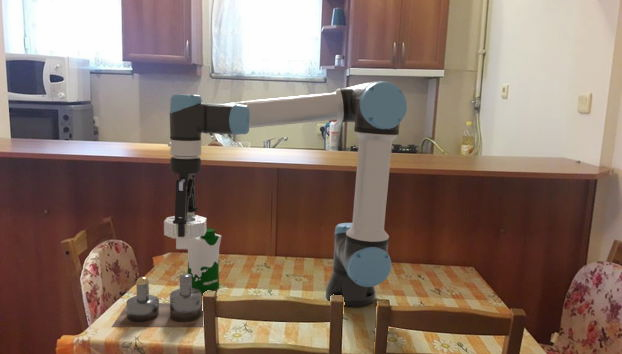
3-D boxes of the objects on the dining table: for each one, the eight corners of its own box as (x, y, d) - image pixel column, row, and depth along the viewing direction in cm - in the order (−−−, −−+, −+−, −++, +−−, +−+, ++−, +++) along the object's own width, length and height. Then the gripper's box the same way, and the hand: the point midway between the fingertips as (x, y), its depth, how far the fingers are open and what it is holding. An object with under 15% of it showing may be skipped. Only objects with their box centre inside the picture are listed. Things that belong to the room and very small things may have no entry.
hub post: (131, 308, 130) (130, 271, 129) (161, 308, 131) (161, 271, 129) (122, 322, 123) (121, 283, 121) (155, 322, 123) (154, 283, 122)
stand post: (173, 308, 131) (173, 270, 130) (203, 308, 132) (203, 270, 130) (167, 322, 124) (166, 281, 122) (198, 322, 124) (199, 281, 123)
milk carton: (200, 300, 141) (201, 234, 138) (181, 291, 146) (181, 228, 143) (223, 292, 148) (224, 228, 144) (205, 283, 153) (205, 222, 150)
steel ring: (169, 227, 129) (169, 214, 128) (207, 227, 130) (207, 215, 129) (161, 238, 119) (161, 224, 118) (202, 238, 120) (202, 225, 119)
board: (127, 308, 134) (127, 302, 134) (215, 308, 136) (215, 303, 136) (111, 332, 120) (111, 326, 120) (209, 332, 122) (209, 326, 122)
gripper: (178, 150, 132) (178, 229, 135) (160, 162, 109) (161, 256, 113) (206, 151, 132) (206, 230, 136) (194, 163, 110) (193, 256, 114)
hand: (185, 242), depth 125 cm, fingers closed on steel ring, 10 cm apart
